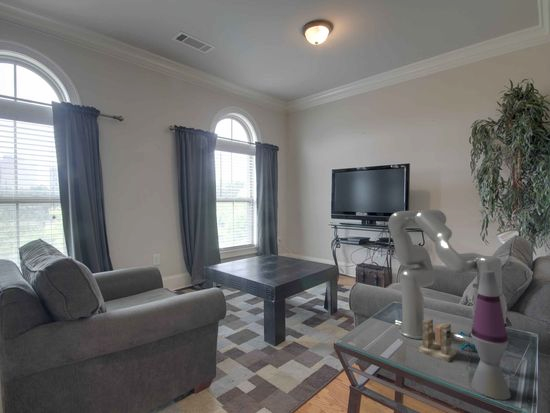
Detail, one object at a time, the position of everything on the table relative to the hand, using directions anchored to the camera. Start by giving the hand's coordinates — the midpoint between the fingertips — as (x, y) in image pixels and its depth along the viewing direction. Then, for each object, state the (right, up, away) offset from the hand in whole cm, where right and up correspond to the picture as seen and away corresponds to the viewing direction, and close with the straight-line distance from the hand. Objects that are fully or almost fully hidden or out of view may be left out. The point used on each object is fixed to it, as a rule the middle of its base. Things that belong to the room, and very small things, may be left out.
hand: (490, 337), depth 109 cm
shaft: (-5, -5, +6) cm, 9 cm away
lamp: (-8, -13, -11) cm, 19 cm away
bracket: (-12, -12, +14) cm, 22 cm away
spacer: (-11, -7, +13) cm, 19 cm away
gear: (+3, -13, +15) cm, 20 cm away
